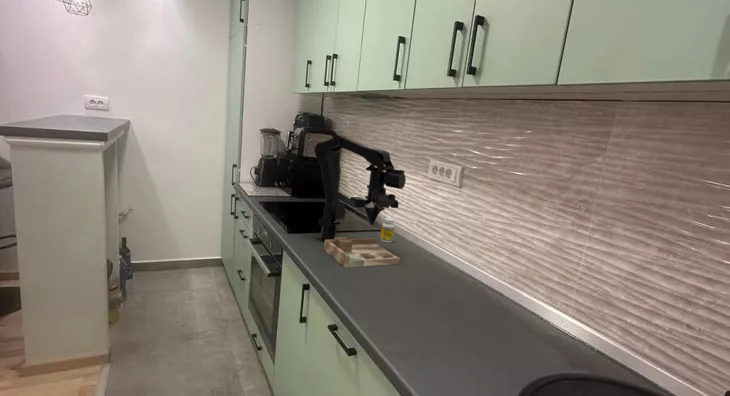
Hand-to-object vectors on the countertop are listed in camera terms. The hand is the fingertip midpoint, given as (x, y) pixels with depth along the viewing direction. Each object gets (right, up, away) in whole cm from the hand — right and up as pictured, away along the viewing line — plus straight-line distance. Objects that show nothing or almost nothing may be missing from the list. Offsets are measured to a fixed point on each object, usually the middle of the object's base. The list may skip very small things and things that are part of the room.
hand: (371, 224), depth 153 cm
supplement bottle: (+7, -9, +21) cm, 24 cm away
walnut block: (-11, -9, -6) cm, 15 cm away
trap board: (-4, -12, -4) cm, 13 cm away
